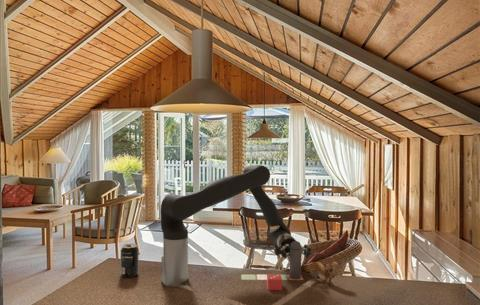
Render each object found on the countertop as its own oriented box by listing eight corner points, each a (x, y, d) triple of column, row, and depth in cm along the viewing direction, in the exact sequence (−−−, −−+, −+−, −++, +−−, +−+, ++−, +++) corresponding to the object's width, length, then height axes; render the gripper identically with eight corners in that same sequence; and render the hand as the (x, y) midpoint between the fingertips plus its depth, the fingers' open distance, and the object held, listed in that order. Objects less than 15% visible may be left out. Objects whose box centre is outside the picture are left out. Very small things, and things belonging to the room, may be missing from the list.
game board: (235, 286, 135) (235, 282, 135) (235, 275, 147) (235, 271, 147) (311, 286, 135) (311, 283, 135) (305, 275, 147) (305, 272, 147)
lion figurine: (343, 286, 135) (343, 262, 135) (333, 289, 132) (334, 265, 132) (313, 275, 147) (314, 252, 147) (304, 277, 144) (304, 255, 144)
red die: (267, 293, 128) (268, 279, 128) (266, 288, 133) (266, 274, 133) (282, 293, 128) (282, 279, 128) (280, 288, 133) (280, 274, 133)
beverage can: (131, 271, 150) (131, 242, 150) (141, 274, 146) (142, 245, 146) (116, 276, 144) (117, 246, 144) (127, 279, 140) (127, 248, 140)
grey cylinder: (287, 277, 140) (288, 241, 140) (292, 274, 144) (293, 239, 144) (297, 279, 138) (298, 243, 137) (302, 276, 141) (303, 240, 141)
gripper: (270, 235, 154) (278, 245, 138) (303, 234, 155) (314, 245, 139) (270, 253, 154) (278, 265, 138) (303, 252, 156) (314, 264, 139)
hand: (296, 255), depth 139 cm, fingers open, 8 cm apart
